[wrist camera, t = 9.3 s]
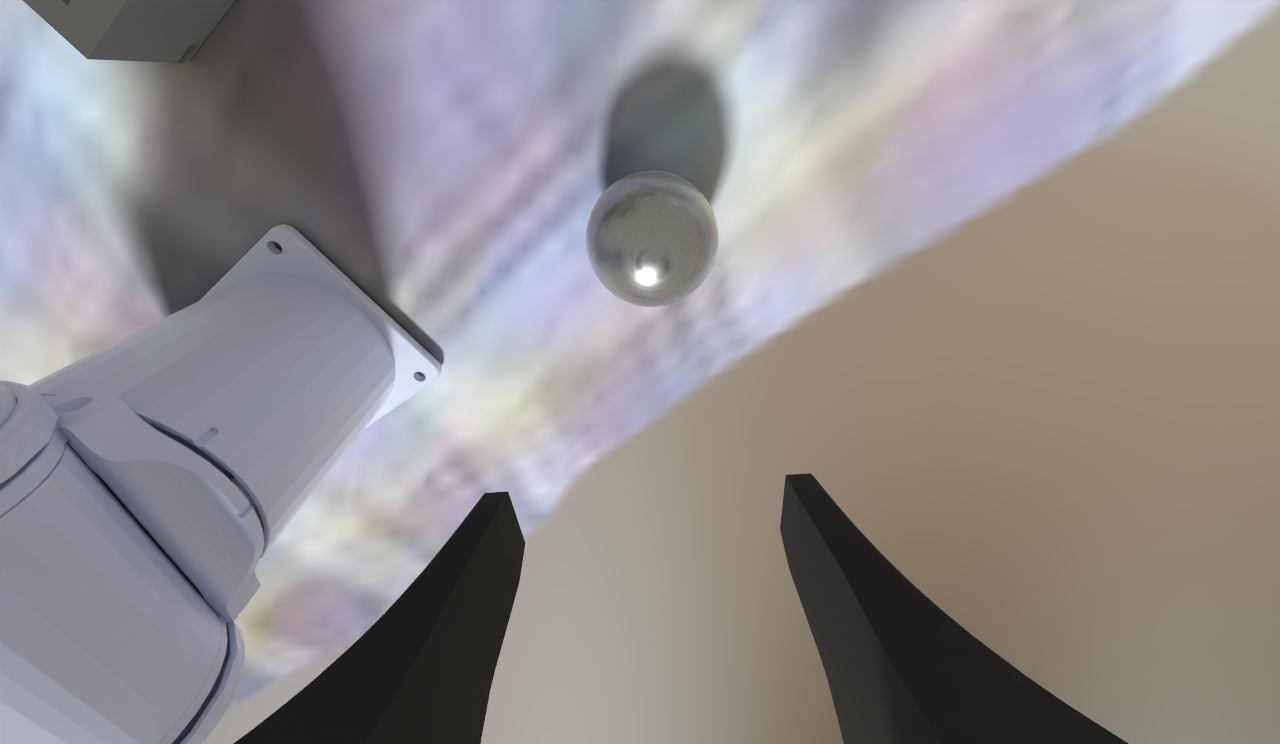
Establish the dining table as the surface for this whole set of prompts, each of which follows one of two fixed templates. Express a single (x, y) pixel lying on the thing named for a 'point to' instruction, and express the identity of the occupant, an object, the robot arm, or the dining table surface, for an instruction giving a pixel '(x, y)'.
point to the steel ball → (652, 238)
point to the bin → (134, 26)
